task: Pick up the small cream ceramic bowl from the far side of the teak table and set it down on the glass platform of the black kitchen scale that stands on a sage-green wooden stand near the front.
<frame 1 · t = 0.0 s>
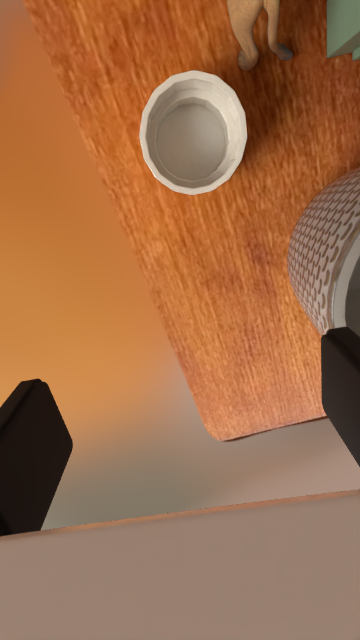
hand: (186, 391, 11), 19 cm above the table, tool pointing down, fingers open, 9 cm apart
bowl: (190, 145, 25), on the table
planter: (343, 242, 28), on the table
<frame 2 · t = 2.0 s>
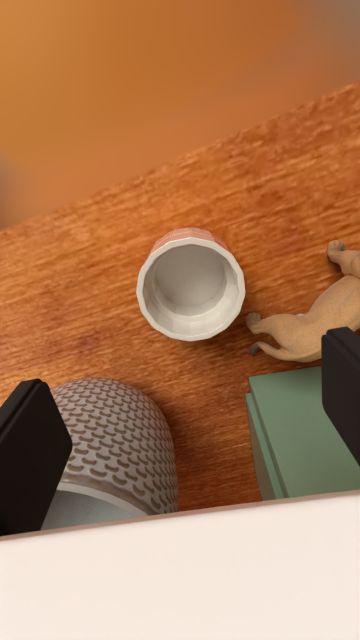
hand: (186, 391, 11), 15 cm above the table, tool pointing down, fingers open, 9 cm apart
bowl: (189, 272, 24), on the table
lion figurine: (312, 277, 25), on the table
stand: (322, 425, 30), on the table
planter: (109, 410, 30), on the table
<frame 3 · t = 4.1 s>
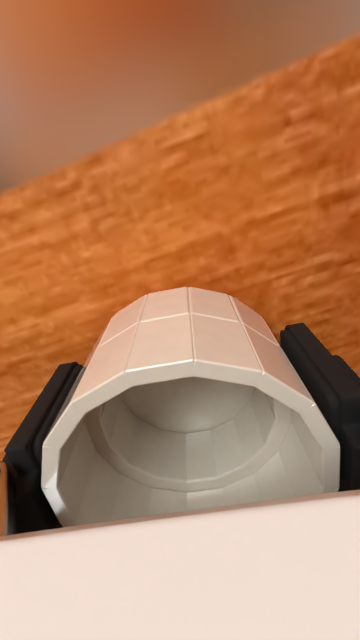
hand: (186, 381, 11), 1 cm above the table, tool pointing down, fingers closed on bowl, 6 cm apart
bowl: (186, 369, 12), on the table, touching gripper
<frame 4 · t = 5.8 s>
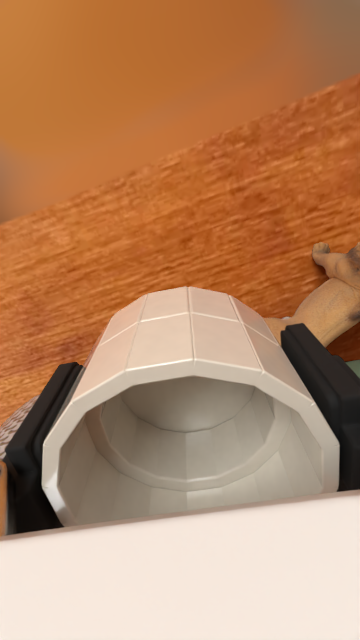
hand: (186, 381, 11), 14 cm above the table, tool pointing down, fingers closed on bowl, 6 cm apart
bowl: (186, 369, 12), point 13 cm above the table, touching gripper
lion figurine: (298, 280, 24), on the table
planter: (94, 417, 29), on the table
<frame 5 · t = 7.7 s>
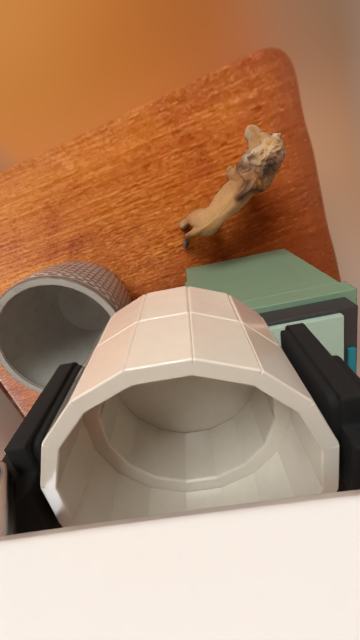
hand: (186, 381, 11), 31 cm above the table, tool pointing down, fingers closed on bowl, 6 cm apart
bowl: (185, 369, 12), point 31 cm above the table, touching gripper
lion figurine: (220, 193, 38), on the table
stand: (241, 307, 44), on the table
planter: (91, 298, 43), on the table
scale: (276, 376, 28), resting on stand
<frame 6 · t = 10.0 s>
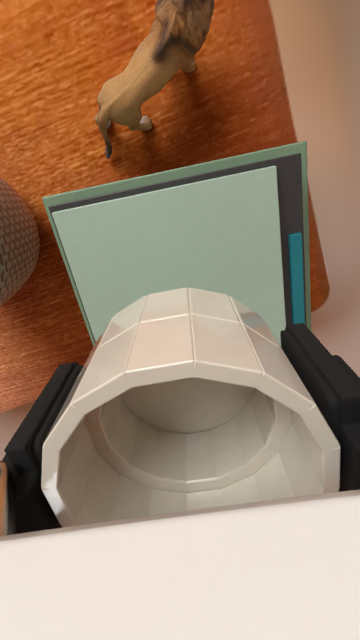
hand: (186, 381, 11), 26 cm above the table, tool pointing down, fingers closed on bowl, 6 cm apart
bowl: (186, 370, 12), point 25 cm above the table, touching gripper
lion figurine: (151, 79, 29), on the table
stand: (186, 244, 34), on the table
scale: (193, 296, 19), resting on stand
when the fingers open (20 cm above the table, at t = 11.8 s): bowl stays where it is, resting on scale.
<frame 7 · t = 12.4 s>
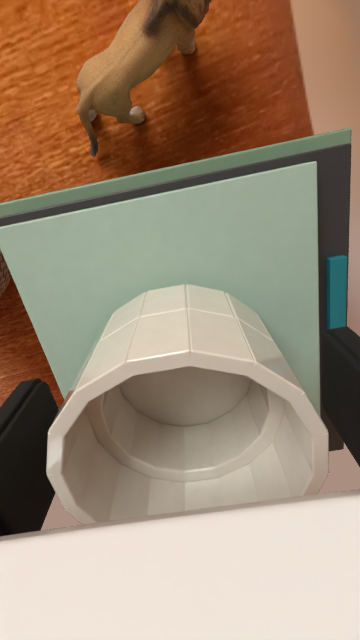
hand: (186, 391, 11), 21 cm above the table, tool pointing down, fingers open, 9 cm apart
bowl: (184, 364, 12), point 20 cm above the table, touching scale
lion figurine: (143, 62, 24), on the table
stand: (185, 254, 30), on the table
scale: (194, 332, 15), resting on stand
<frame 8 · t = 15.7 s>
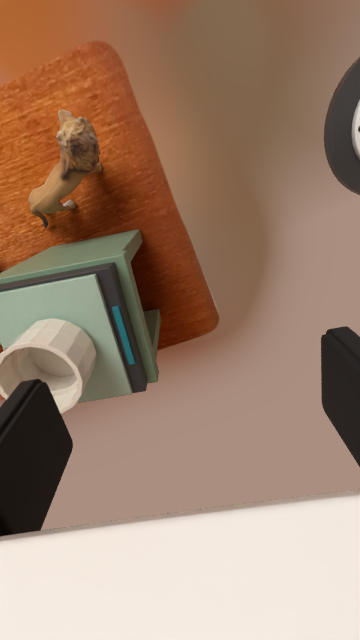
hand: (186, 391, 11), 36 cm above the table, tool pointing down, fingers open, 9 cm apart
bowl: (60, 349, 29), point 20 cm above the table, touching scale
lion figurine: (72, 175, 41), on the table
stand: (108, 284, 47), on the table
scale: (74, 336, 31), resting on stand
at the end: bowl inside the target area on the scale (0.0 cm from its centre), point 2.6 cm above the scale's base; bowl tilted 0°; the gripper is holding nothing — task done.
